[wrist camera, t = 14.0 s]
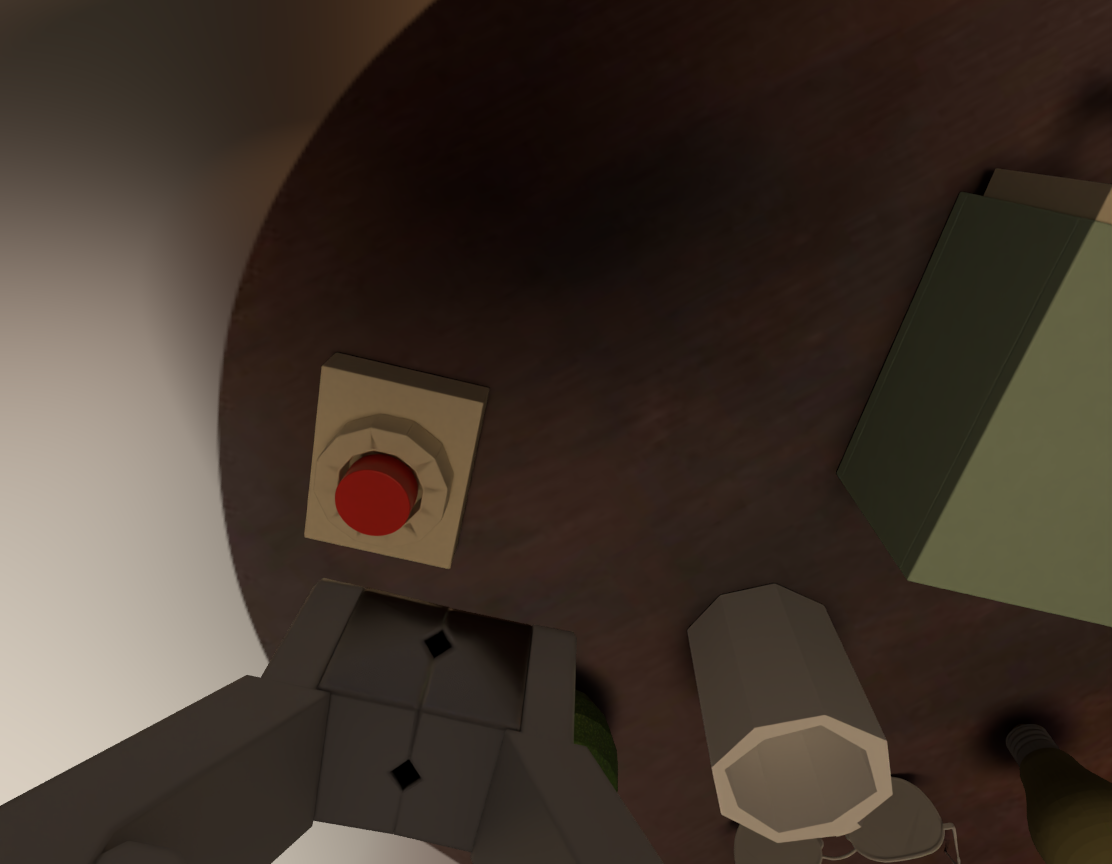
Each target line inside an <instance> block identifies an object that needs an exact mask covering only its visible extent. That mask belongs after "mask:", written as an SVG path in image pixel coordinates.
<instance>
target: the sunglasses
mask: <svg viewBox="0 0 1112 864" xmlns="http://www.w3.org/2000/svg"><path fill="white" fill-rule="evenodd" d="M891 783H892V793H893V795H892V796H890V797H889V798H888V799H887V800H885V801H884V802H883V803H882V804H880V805H879V806H878V807H877V808H875V809H874V810H873V811H872V812H870V813H869V814H868V815H867V816H865V818H864V821H863V824H862V827H860V828H859V829H857V830H855V831H853V832H851V833H848V834H845V836H846V838H847V839H848V840H849V841H851V842H852V844H853V846H854V849H853V850H852V851H851V852H849V853H847V854H845V855H843V856H839V857H830V856H825V855H822V851H821V849H822V848H823V845H824V843H823V840H822V839H821V838H814V839H806V840H798V841H790V842H782V843H776V842H774V841H772V840H770V839H768V838H766V837H765V836H763V835H761V834H759V833H757V832H755V831H753V830H751V829H749V828H747V827H745V826H743V825H741V824H740V825H739V827H738V829H737V832H736V835H735V841H734V858H735V864H821V862H822V858H825V859H829V860H840V859H844V858H847V857H849V856H850V855H852V854H853V853H855V852H856V851H858V852H859V853H860V854H862V855H863V856H865V857H866V858H868V859H871V860H874V861H878V862H896V861H903V860H909V859H914V858H918V857H922V856H925V855H928V854H931V853H933V852H935V851H936V850H938V848H939V847H940V846H941V844H942V843H943V840H944V836H945V832H944V830H947V829H952V832H953V837H954V842H955V847H956V851H957V856H958V857H957V862H958V864H960V858H959V855H958V846H957V837H956V829H955V827H954V824H953V823H946V824H943V822H942V820H941V818H940V815H939V814H938V812H937V810H936V808H935V807H934V805H933V804H932V802H931V801H930V800H929V799H928V798H927V796H926V795H925V794H924V793H923V792H922V791H921V790H920V789H919V788H918V787H916V786H915V785H913V784H912V783H910V782H908V781H906V780H904V779H901V778H897V777H891ZM945 853H946V855H948V856H949V858H950V859H951V860H952V862H953V863H954V864H956V863H955V862H954V861H953V859H952V858H951V857H950V855H949V854H948V853H947V852H946V851H945Z"/></svg>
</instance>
